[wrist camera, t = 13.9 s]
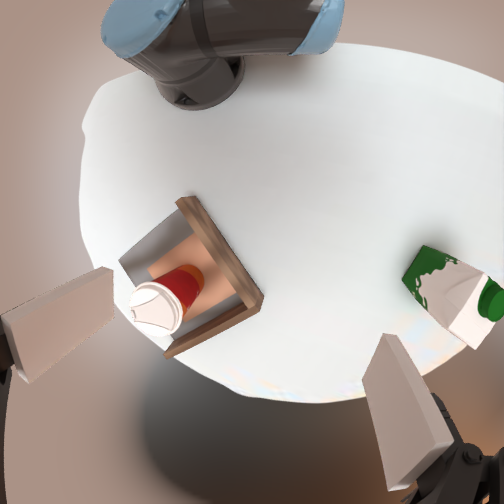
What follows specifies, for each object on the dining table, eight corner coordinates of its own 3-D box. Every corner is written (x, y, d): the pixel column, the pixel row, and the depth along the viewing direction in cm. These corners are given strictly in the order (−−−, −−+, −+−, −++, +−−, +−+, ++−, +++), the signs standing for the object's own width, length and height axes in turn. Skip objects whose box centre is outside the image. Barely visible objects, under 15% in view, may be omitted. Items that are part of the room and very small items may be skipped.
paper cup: (175, 302, 47) (136, 339, 33) (164, 261, 45) (119, 287, 32) (215, 298, 45) (186, 339, 32) (205, 254, 44) (169, 282, 31)
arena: (119, 259, 48) (101, 267, 42) (195, 196, 43) (181, 197, 37) (179, 343, 50) (167, 359, 44) (264, 296, 45) (259, 311, 39)
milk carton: (452, 263, 38) (521, 304, 19) (425, 305, 41) (481, 364, 22) (422, 237, 39) (494, 270, 19) (394, 282, 41) (448, 340, 22)
